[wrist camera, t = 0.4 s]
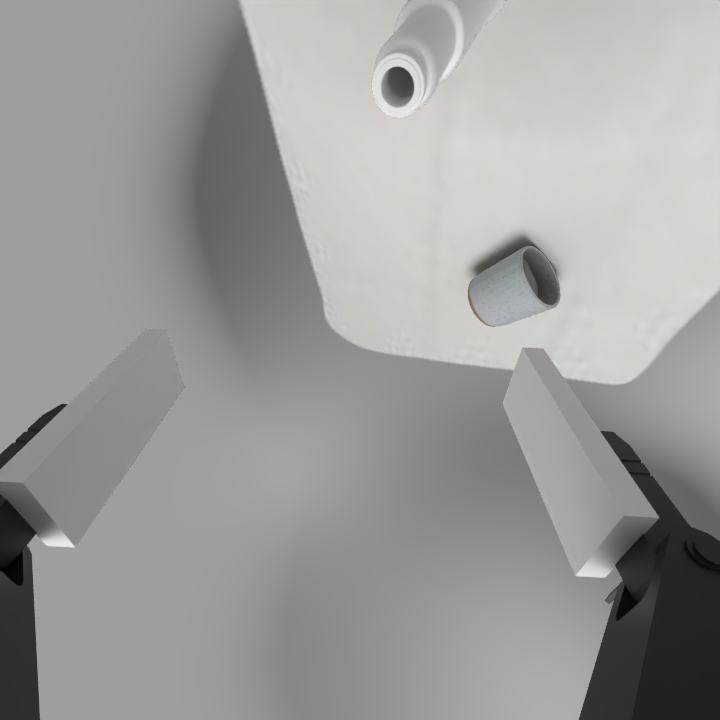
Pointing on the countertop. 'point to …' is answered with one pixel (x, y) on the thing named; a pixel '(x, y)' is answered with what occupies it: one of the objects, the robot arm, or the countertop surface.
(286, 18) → the countertop surface
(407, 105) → the cosmetic bottle
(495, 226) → the countertop surface
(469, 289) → the ceramic mug
